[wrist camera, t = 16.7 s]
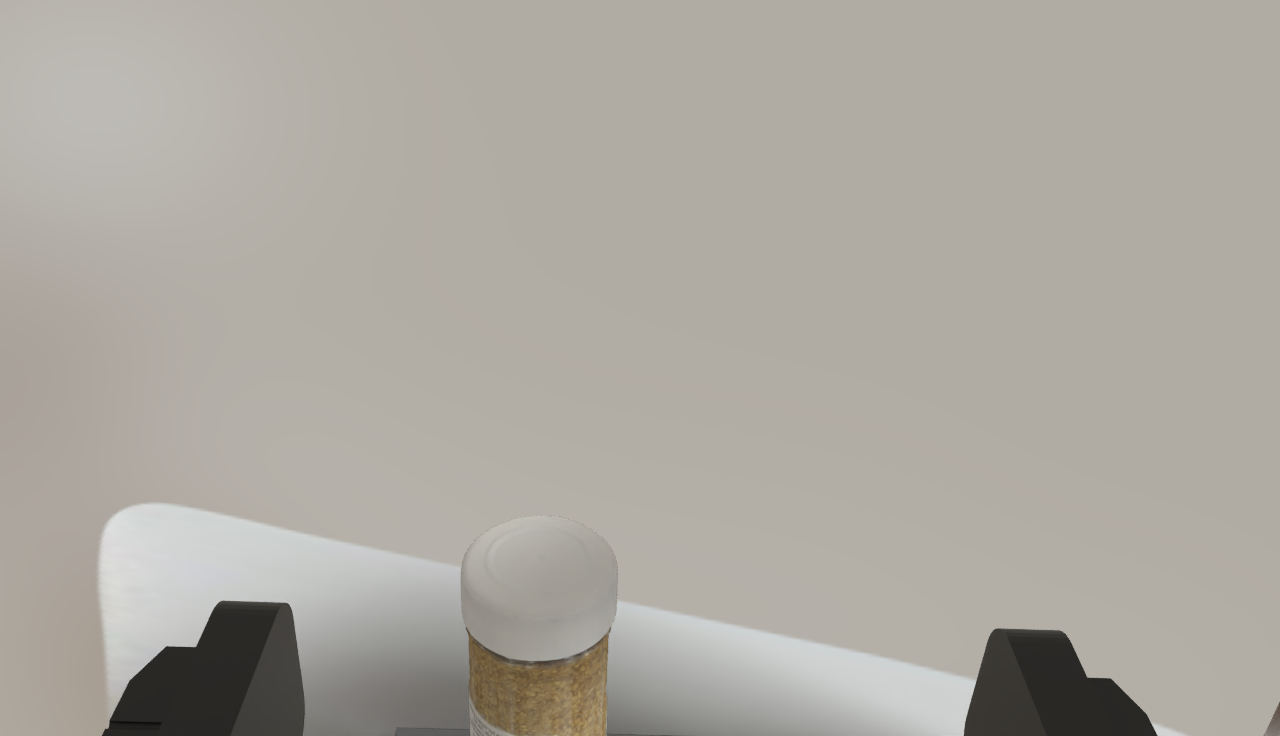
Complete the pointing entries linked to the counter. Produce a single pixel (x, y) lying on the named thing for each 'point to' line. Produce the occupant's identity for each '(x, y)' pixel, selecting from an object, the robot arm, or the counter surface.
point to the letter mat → (460, 732)
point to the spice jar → (538, 628)
